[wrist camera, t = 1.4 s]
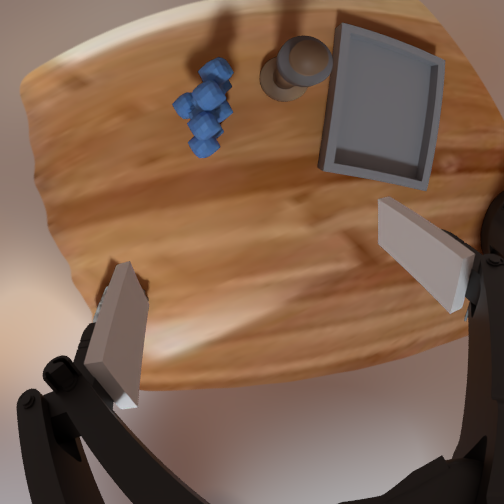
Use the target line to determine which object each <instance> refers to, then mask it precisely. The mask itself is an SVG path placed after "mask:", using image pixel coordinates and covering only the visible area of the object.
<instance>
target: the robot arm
mask: <svg viewBox="0 0 504 504" xmlns="http://www.w3.org/2000/svg"><path fill="white" fill-rule="evenodd" d="M378 244H379V245H380V246H381V247H382V248H383V249H384V250H385V251H386V252H388V253H389V254H390V255H391V256H392V257H393V258H394V259H395V260H396V261H397V262H398V263H399V264H400V265H402V266H403V267H404V268H405V269H406V270H407V271H408V272H409V273H410V274H411V275H412V276H413V277H414V278H415V279H416V280H417V281H418V282H419V283H420V284H421V285H422V286H423V287H424V288H425V289H426V290H427V291H428V292H429V293H430V294H431V295H432V296H433V297H434V298H435V299H436V300H437V301H438V302H439V303H440V304H441V305H442V306H443V307H444V308H445V309H446V310H447V311H448V312H449V313H450V314H451V313H453V312H455V311H457V310H459V309H461V308H462V306H463V302H464V299H465V297H466V298H467V299H468V300H469V301H470V302H469V306H468V309H467V312H466V315H465V319H464V321H466V320H467V318H468V322H469V349H468V350H469V351H468V374H467V387H466V398H465V407H464V415H463V422H462V429H461V435H460V440H459V443H458V445H457V447H456V450H455V452H454V454H453V457H452V459H450V460H445V459H444V458H443V456H440V457H438V458H437V459H435V460H433V461H431V462H430V463H428V464H426V465H424V466H423V467H421V468H419V469H417V470H415V471H413V472H412V473H411V474H409V475H408V476H407V477H406V478H405V479H403V480H402V481H401V482H400V483H398V484H397V485H396V486H395V487H393V488H392V489H391V490H389V491H388V492H387V493H385V494H384V495H381V496H378V497H372V498H367V499H361V500H355V501H348V502H341V503H338V504H504V191H503V192H502V193H500V194H499V195H498V196H497V197H496V198H495V199H494V201H493V202H492V204H491V205H490V207H489V209H488V211H487V213H486V216H485V219H484V222H483V226H482V232H481V246H482V251H483V253H484V255H482V254H480V253H479V252H478V251H476V250H475V249H474V248H472V247H471V246H470V245H468V244H467V243H464V241H463V240H461V239H459V238H458V237H457V236H455V235H454V234H452V233H451V232H448V231H446V230H443V229H440V228H438V227H437V226H435V225H434V224H432V223H431V222H429V221H428V220H426V219H425V218H423V217H422V216H420V215H419V214H417V213H415V212H414V211H412V210H411V209H409V208H408V207H406V206H404V205H403V204H401V203H400V202H398V201H396V200H395V199H393V198H391V197H390V196H389V197H385V198H381V199H378ZM148 309H149V303H148V301H147V299H146V296H145V294H144V292H143V290H142V288H141V285H140V283H139V281H138V279H137V276H136V274H135V272H134V270H133V267H132V265H131V263H130V261H129V262H125V263H121V264H118V265H116V267H115V270H114V273H113V275H112V278H111V281H110V283H109V286H108V289H107V292H106V295H105V297H104V300H103V303H102V306H101V309H100V312H99V315H98V318H97V321H96V322H94V323H90V324H89V325H88V326H87V328H86V329H85V330H84V332H83V334H82V337H81V340H80V343H79V346H78V350H77V353H76V356H75V359H74V362H72V361H71V359H70V358H69V357H67V356H59V357H56V358H54V359H52V360H51V361H50V362H49V363H48V364H47V365H46V367H45V368H44V371H43V379H44V381H45V382H46V383H47V384H48V385H49V386H50V387H51V389H52V390H53V392H50V393H48V394H45V395H42V394H40V392H39V391H38V390H36V389H29V390H27V391H25V392H24V393H23V394H22V395H21V396H20V397H19V399H18V402H17V420H18V430H19V438H20V446H21V452H22V459H23V464H24V470H25V475H26V480H27V484H28V489H29V493H30V497H31V501H32V504H105V503H104V501H103V498H102V496H101V494H100V491H99V489H98V487H97V484H96V482H95V480H94V477H93V474H92V471H91V469H90V466H89V463H88V461H87V458H86V455H85V452H84V449H83V446H82V443H81V440H80V436H82V438H83V439H84V441H85V442H86V444H87V445H88V447H89V448H90V450H91V451H92V452H93V454H94V455H95V457H96V458H97V459H98V461H99V462H100V464H101V465H102V466H103V468H104V469H105V470H106V471H107V473H108V474H109V475H110V477H111V478H112V479H113V480H114V482H115V483H116V484H117V485H118V486H119V488H120V489H121V490H122V491H123V493H124V494H125V495H126V496H127V497H128V498H129V499H130V501H131V502H132V503H133V504H210V503H208V502H207V501H206V500H205V499H203V498H202V497H201V496H200V495H198V494H197V493H196V492H195V491H193V490H192V489H191V488H190V487H189V486H188V485H187V484H185V483H184V482H183V481H182V480H181V479H180V478H178V477H177V476H176V475H175V474H174V473H173V472H172V471H171V470H170V469H168V468H167V467H166V466H165V465H164V464H163V463H162V462H161V461H160V460H159V459H158V458H157V457H156V456H155V455H154V454H153V453H152V452H151V451H150V450H149V449H148V448H147V447H146V446H145V445H144V444H143V443H142V442H141V441H140V440H139V439H138V438H137V436H135V434H134V433H133V432H132V431H131V430H130V429H129V428H128V427H127V426H126V424H125V423H124V422H123V421H122V420H121V419H120V418H119V417H118V415H117V414H116V413H115V412H114V411H113V402H115V403H116V405H117V406H118V407H119V408H120V409H128V408H136V407H138V398H139V397H138V396H139V385H140V374H141V365H142V355H143V347H144V338H145V331H146V323H147V316H148Z"/></svg>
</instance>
